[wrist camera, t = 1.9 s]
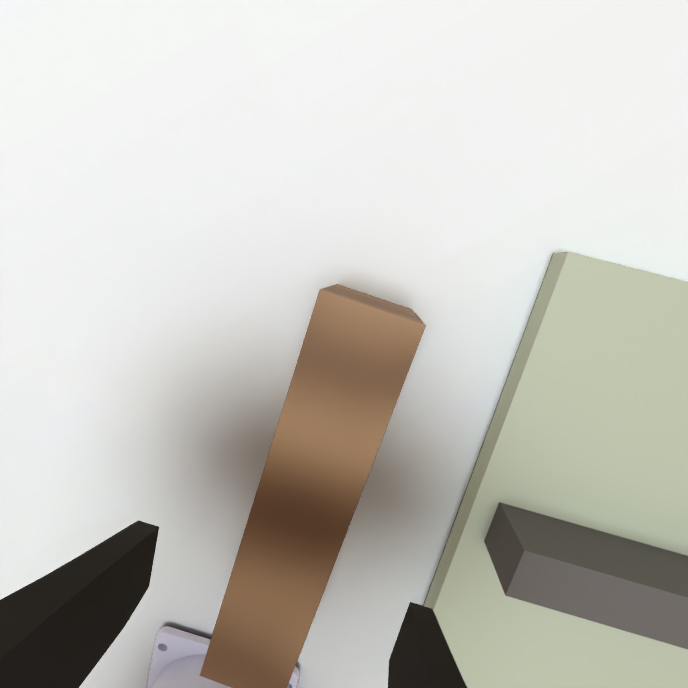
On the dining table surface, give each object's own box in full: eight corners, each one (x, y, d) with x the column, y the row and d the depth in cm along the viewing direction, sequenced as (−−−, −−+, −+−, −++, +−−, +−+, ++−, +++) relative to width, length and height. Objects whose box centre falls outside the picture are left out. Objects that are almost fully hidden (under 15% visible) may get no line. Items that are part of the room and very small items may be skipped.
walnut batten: (305, 596, 19) (280, 705, 15) (244, 574, 20) (199, 675, 15) (411, 309, 16) (425, 325, 11) (337, 284, 16) (319, 289, 11)
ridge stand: (657, 764, 19) (728, 892, 15) (394, 683, 20) (398, 786, 16) (911, 344, 14) (1111, 372, 10) (553, 253, 15) (616, 246, 11)
